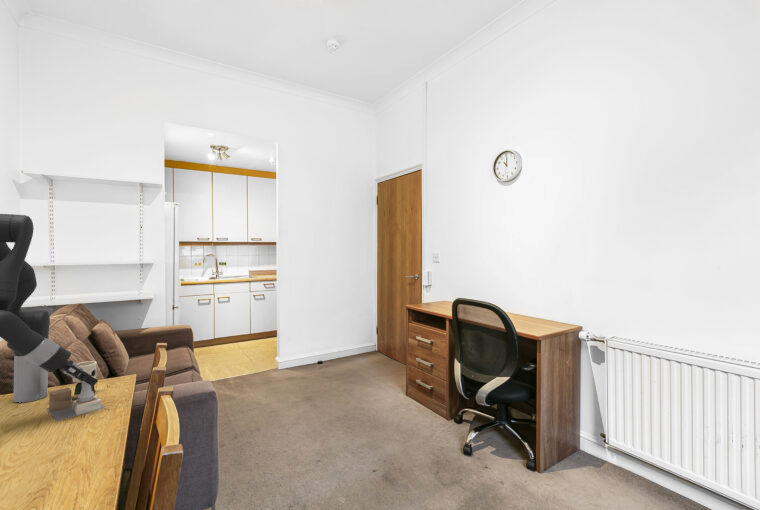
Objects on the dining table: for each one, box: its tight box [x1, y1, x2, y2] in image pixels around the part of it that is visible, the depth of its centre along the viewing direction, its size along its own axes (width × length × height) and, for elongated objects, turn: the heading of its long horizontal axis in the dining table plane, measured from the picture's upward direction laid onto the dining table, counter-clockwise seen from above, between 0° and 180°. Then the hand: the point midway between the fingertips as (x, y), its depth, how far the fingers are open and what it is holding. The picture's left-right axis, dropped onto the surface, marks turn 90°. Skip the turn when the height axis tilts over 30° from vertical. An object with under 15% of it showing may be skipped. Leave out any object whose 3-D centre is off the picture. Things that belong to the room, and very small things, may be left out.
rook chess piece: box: [78, 381, 95, 402], centre depth 121 cm, size 4×4×8 cm
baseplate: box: [46, 401, 107, 422], centre depth 122 cm, size 16×13×1 cm
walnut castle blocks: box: [48, 386, 96, 412], centre depth 125 cm, size 5×12×6 cm, turn 141°
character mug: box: [72, 360, 98, 396], centre depth 135 cm, size 11×7×13 cm, turn 34°
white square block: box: [72, 395, 102, 416], centre depth 121 cm, size 6×6×3 cm
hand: (92, 381), depth 122 cm, fingers open, 7 cm apart
